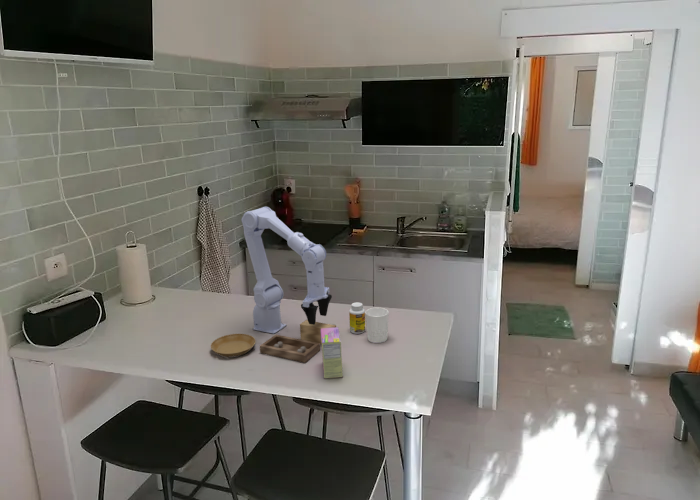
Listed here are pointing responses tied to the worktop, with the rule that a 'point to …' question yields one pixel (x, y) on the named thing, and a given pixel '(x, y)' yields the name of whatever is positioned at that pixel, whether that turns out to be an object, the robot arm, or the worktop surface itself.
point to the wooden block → (313, 331)
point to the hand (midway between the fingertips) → (317, 319)
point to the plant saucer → (233, 345)
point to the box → (331, 352)
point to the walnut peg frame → (290, 348)
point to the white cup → (377, 324)
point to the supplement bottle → (357, 318)
